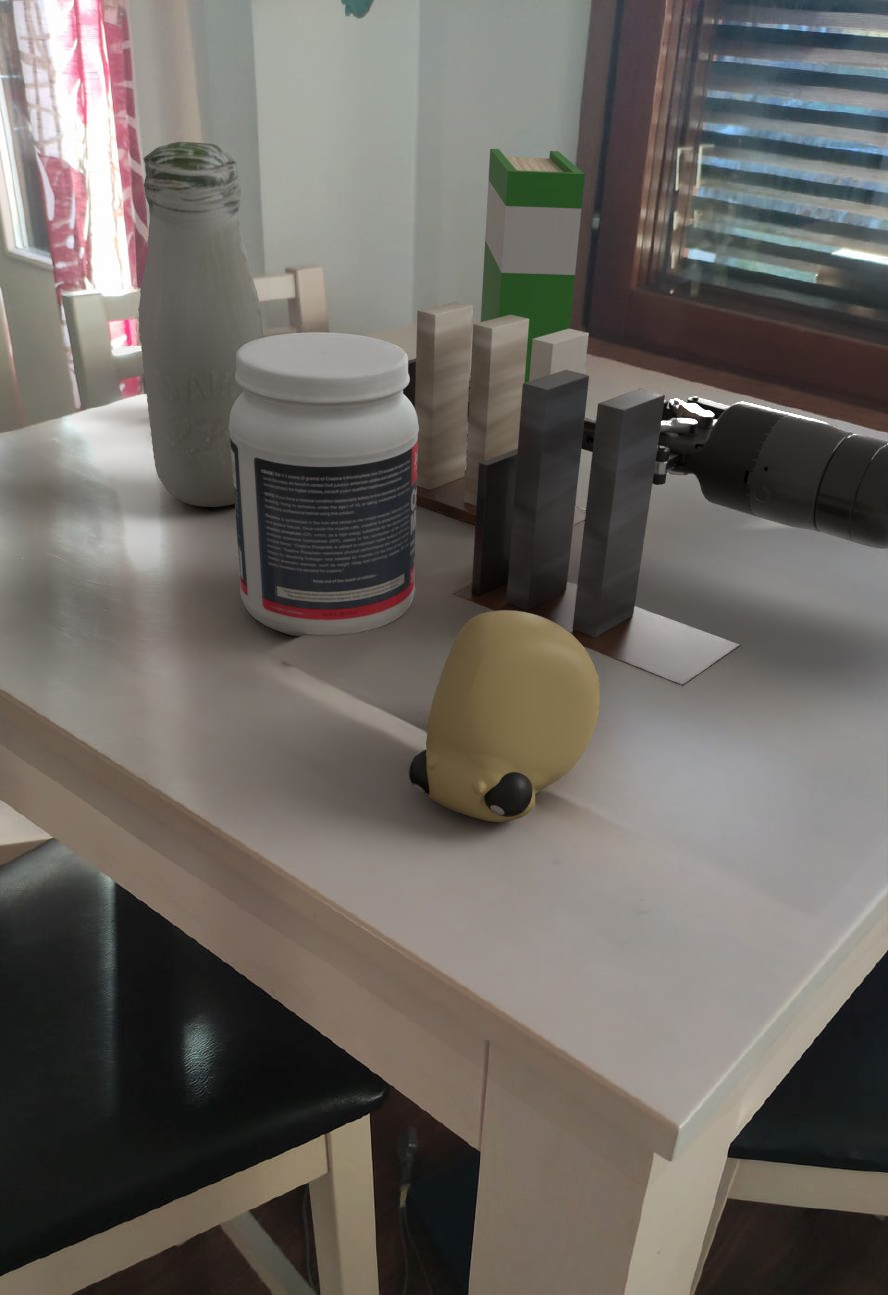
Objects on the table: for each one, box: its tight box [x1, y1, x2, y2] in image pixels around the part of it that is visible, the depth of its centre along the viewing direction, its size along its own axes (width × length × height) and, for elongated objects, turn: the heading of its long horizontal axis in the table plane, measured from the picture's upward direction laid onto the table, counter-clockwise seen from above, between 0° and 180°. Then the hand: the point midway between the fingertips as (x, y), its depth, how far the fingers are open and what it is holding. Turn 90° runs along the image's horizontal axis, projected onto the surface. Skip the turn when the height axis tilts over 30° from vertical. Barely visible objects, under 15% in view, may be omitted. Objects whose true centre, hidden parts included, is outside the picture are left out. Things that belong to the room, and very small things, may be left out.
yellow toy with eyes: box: [408, 610, 601, 823], centre depth 66 cm, size 10×12×11 cm
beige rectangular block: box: [529, 328, 590, 381], centre depth 96 cm, size 2×5×15 cm, turn 140°
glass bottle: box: [138, 141, 264, 508], centre depth 95 cm, size 10×10×28 cm
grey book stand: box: [451, 370, 741, 687], centre depth 80 cm, size 20×8×17 cm, turn 50°
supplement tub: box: [229, 331, 419, 638], centre depth 81 cm, size 13×13×18 cm
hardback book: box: [480, 148, 586, 383], centre depth 125 cm, size 18×7×24 cm, turn 4°
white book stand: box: [403, 301, 586, 527], centre depth 100 cm, size 20×8×16 cm, turn 50°
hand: (596, 416), depth 93 cm, fingers open, 8 cm apart
